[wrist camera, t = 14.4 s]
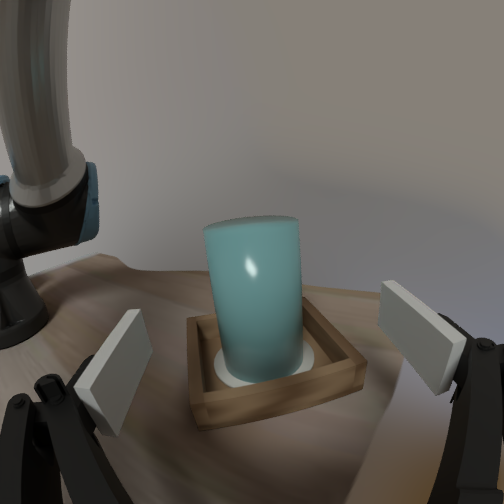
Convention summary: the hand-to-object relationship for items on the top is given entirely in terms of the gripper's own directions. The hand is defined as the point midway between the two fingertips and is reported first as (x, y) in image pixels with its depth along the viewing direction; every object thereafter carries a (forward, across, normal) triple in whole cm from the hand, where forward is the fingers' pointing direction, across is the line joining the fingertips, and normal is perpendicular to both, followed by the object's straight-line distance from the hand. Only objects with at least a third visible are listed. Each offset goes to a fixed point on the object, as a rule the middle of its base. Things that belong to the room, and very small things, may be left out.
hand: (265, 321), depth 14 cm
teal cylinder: (+8, 0, -8) cm, 11 cm away
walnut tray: (+8, 0, -9) cm, 12 cm away
